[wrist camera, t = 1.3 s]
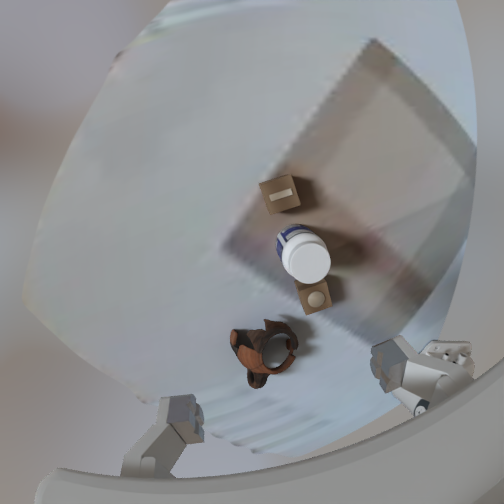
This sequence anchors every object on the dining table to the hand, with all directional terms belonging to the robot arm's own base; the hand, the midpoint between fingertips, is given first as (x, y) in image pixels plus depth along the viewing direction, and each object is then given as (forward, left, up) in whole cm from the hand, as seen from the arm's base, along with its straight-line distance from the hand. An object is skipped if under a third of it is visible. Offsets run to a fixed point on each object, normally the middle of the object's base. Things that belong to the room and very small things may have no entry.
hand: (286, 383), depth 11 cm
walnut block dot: (-8, +8, -30) cm, 32 cm away
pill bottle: (-5, +1, -30) cm, 30 cm away
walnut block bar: (-3, -6, -30) cm, 30 cm away
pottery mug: (-1, +18, -30) cm, 35 cm away
